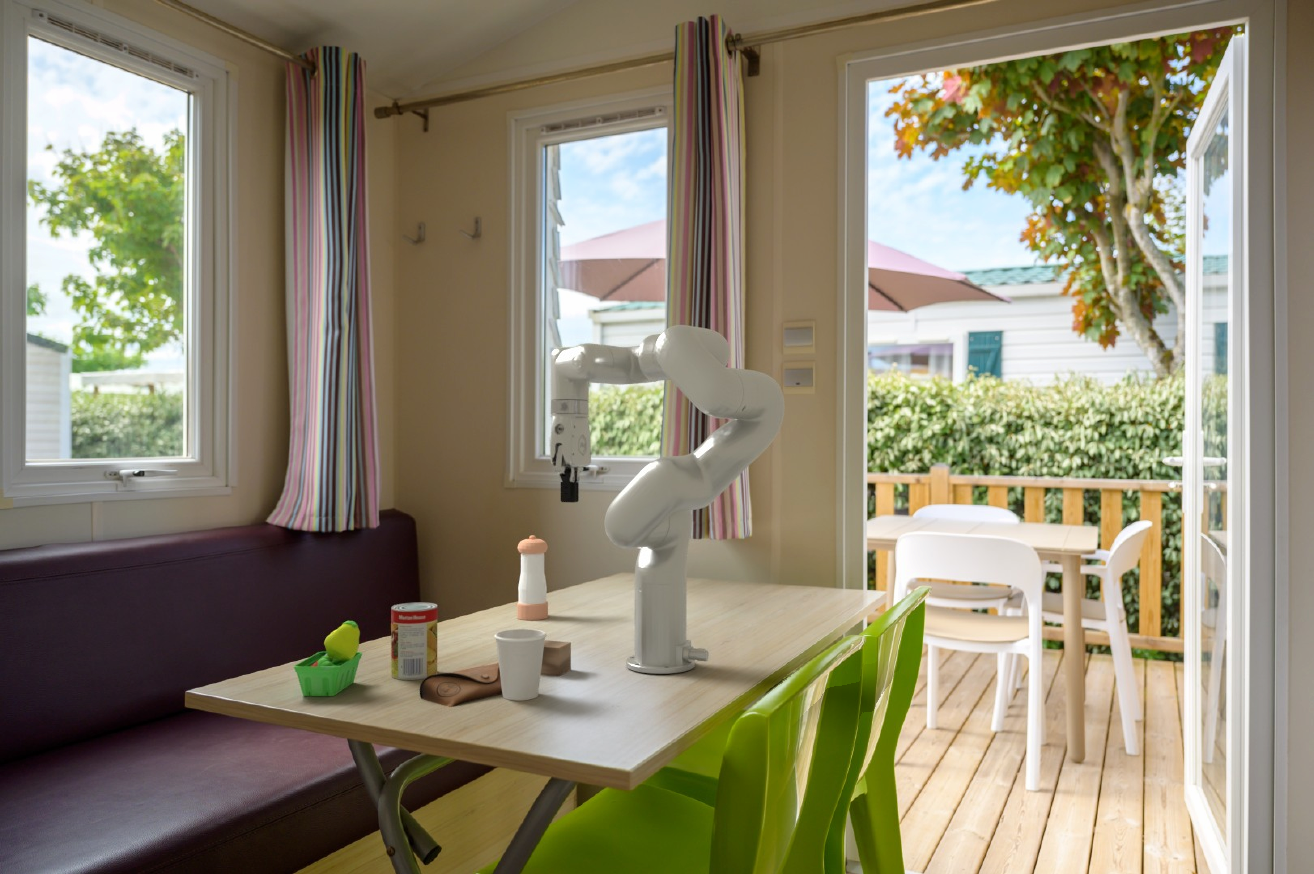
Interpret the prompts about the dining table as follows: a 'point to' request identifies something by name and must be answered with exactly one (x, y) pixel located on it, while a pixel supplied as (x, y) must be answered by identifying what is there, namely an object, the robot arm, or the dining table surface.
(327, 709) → the dining table surface
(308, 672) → the fruit basket
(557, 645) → the walnut block
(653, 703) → the dining table surface
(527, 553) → the pepper shaker
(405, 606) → the canned food
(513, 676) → the dixie cup
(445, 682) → the sunglasses case
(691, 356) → the robot arm
